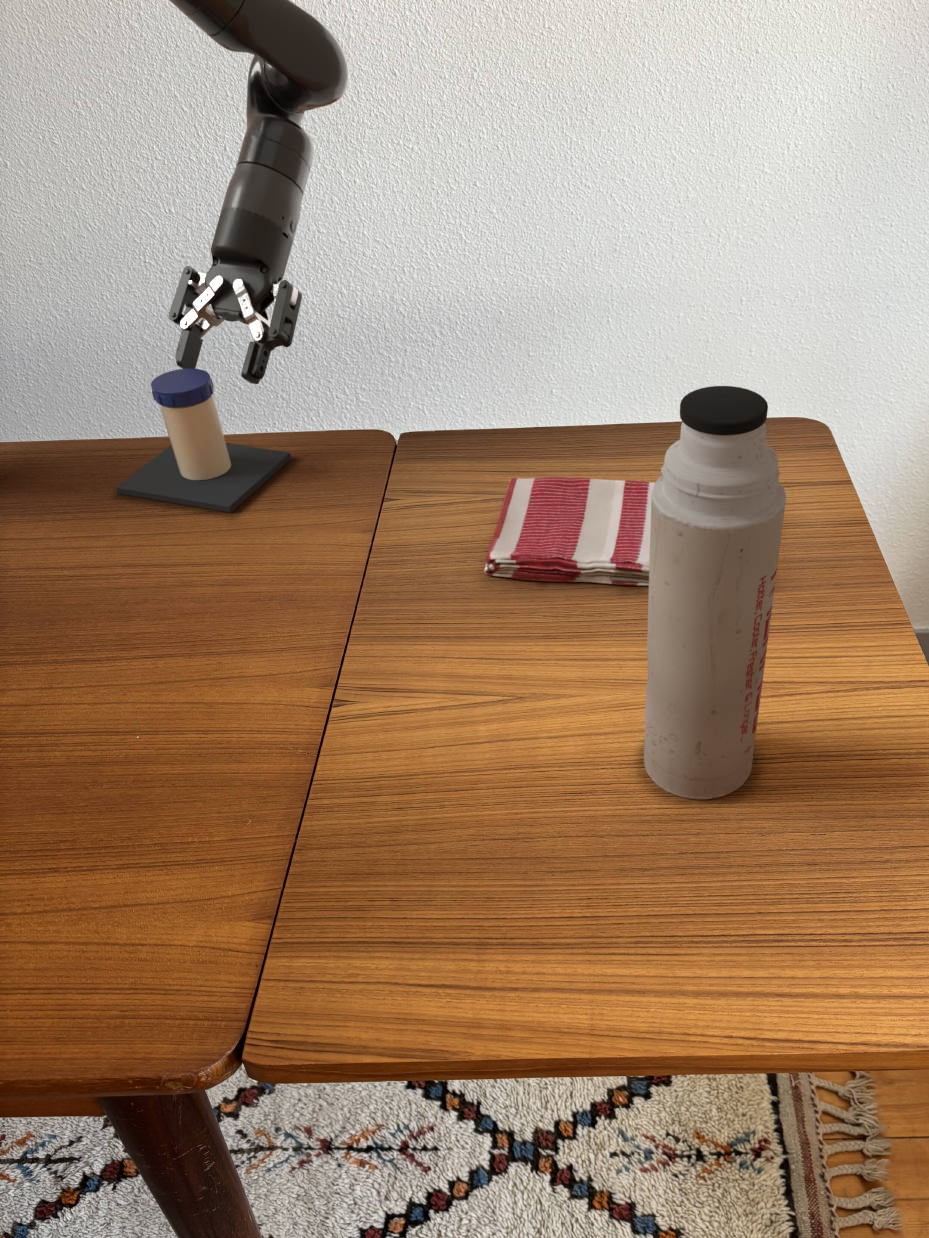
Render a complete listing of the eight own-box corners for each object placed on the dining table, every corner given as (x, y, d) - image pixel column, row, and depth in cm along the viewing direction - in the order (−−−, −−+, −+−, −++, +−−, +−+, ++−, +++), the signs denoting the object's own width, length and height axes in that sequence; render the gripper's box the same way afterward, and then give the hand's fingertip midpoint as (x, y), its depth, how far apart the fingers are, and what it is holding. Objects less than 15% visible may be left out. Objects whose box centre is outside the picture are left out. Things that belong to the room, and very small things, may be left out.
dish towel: (740, 592, 93) (743, 567, 91) (482, 581, 96) (480, 556, 94) (741, 497, 105) (743, 472, 104) (512, 488, 108) (510, 465, 106)
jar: (169, 476, 111) (143, 393, 105) (199, 453, 115) (175, 371, 108) (213, 483, 109) (188, 399, 103) (241, 459, 113) (219, 377, 107)
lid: (143, 403, 105) (138, 389, 104) (177, 379, 109) (173, 365, 108) (192, 410, 104) (188, 396, 103) (225, 386, 108) (221, 372, 107)
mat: (117, 493, 110) (115, 487, 110) (184, 442, 118) (182, 435, 118) (231, 513, 106) (229, 506, 106) (292, 459, 115) (290, 452, 114)
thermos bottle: (768, 746, 79) (818, 386, 59) (726, 814, 74) (766, 446, 54) (671, 713, 82) (690, 361, 62) (625, 777, 77) (629, 415, 58)
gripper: (180, 198, 108) (139, 350, 108) (293, 211, 103) (250, 370, 104) (226, 236, 115) (186, 379, 115) (333, 250, 110) (292, 399, 111)
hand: (216, 375), depth 110 cm, fingers open, 8 cm apart
